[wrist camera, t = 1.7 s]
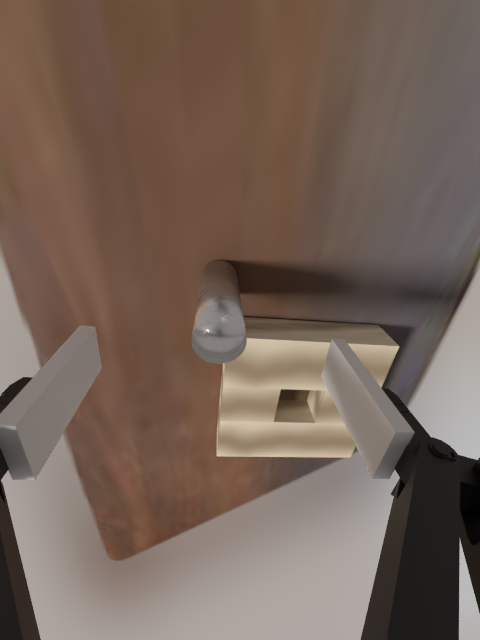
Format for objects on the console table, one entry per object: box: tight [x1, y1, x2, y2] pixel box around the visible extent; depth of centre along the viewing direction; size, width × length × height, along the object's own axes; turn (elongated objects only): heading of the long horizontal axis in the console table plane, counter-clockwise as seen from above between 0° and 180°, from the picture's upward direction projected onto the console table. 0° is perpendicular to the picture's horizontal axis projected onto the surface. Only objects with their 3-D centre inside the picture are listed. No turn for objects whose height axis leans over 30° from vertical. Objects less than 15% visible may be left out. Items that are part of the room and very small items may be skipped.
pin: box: [192, 260, 247, 364], centre depth 21 cm, size 3×3×11 cm
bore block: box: [217, 317, 399, 458], centre depth 31 cm, size 16×16×4 cm
